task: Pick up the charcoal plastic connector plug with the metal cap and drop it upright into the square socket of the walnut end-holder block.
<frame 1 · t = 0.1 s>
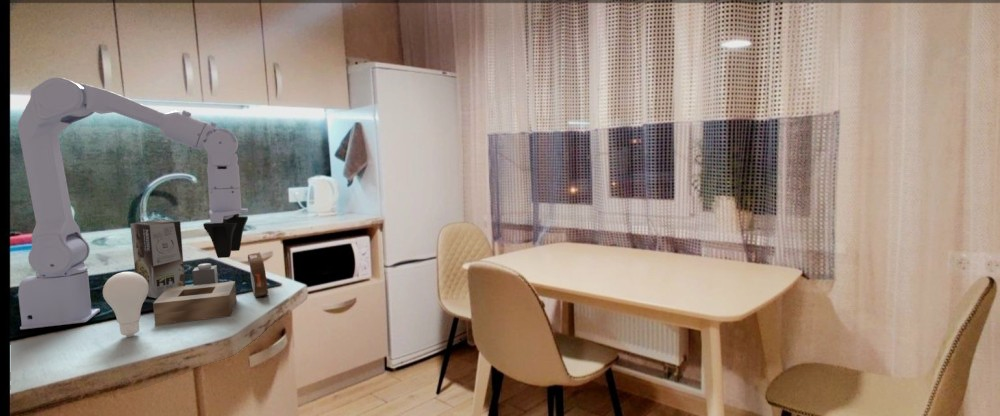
hand: (229, 253, 104), 10 cm above the countertop, tool pointing down, fingers open, 7 cm apart
coffee box: (161, 294, 112), on the countertop
lightbulb: (130, 337, 85), on the countertop
holder: (198, 311, 98), on the countertop
plug: (207, 297, 108), on the countertop
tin: (258, 293, 112), on the countertop
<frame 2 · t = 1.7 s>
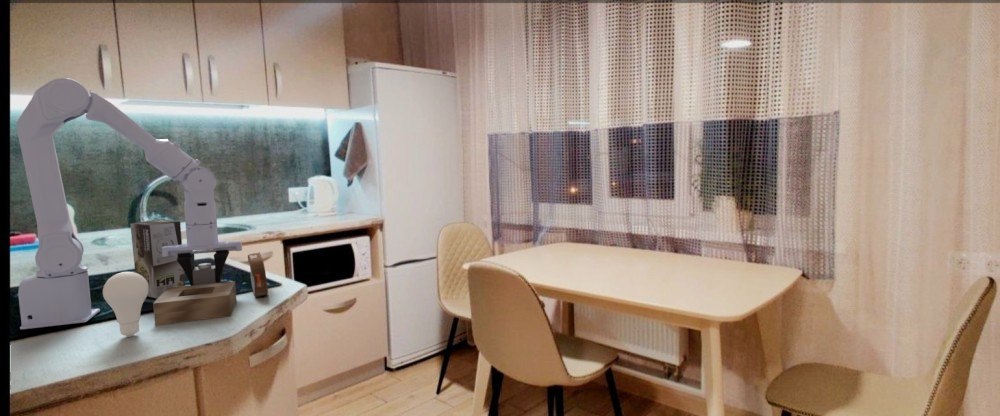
hand: (206, 286, 108), 2 cm above the countertop, tool pointing down, fingers closed on plug, 4 cm apart
plug: (207, 297, 108), on the countertop, touching gripper
everything else where it was.
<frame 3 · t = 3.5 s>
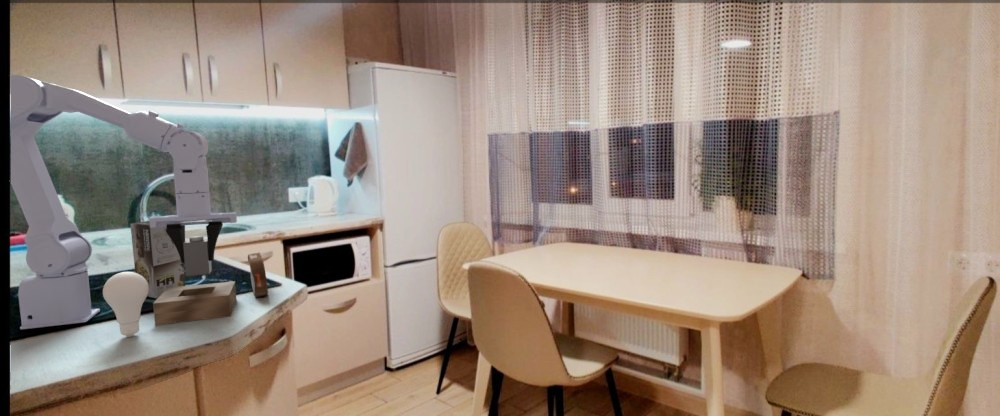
hand: (197, 261, 100), 9 cm above the countertop, tool pointing down, fingers closed on plug, 4 cm apart
plug: (199, 273, 100), point 7 cm above the countertop, touching gripper
everything else where it was.
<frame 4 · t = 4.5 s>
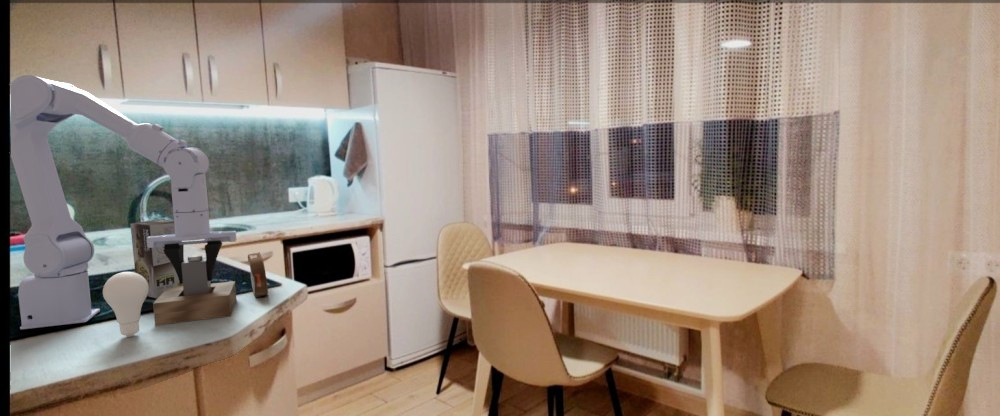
hand: (196, 281, 97), 6 cm above the countertop, tool pointing down, fingers closed on plug, 4 cm apart
plug: (197, 293, 98), point 4 cm above the countertop, touching gripper
everything else where it was.
when the fingers open (5 cm above the countertop, at t = 5.1 s): plug stays where it is, resting on holder.
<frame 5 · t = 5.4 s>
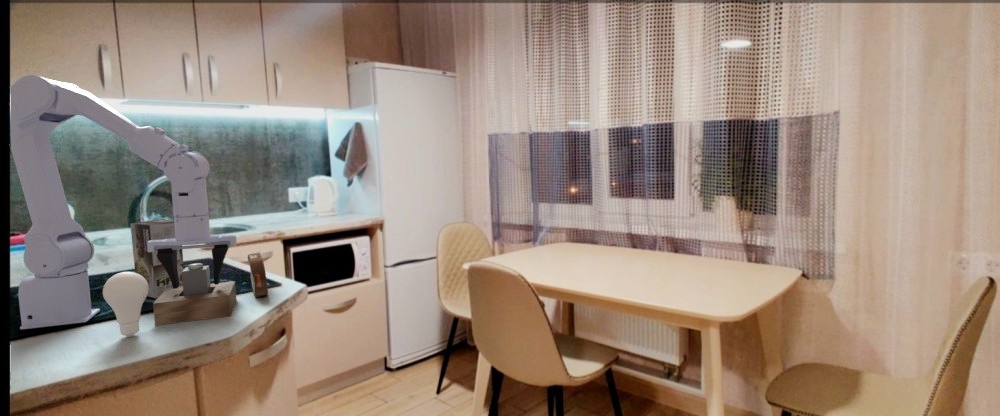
hand: (196, 285, 97), 5 cm above the countertop, tool pointing down, fingers open, 6 cm apart
plug: (198, 301, 98), point 2 cm above the countertop, touching holder
everything else where it was.
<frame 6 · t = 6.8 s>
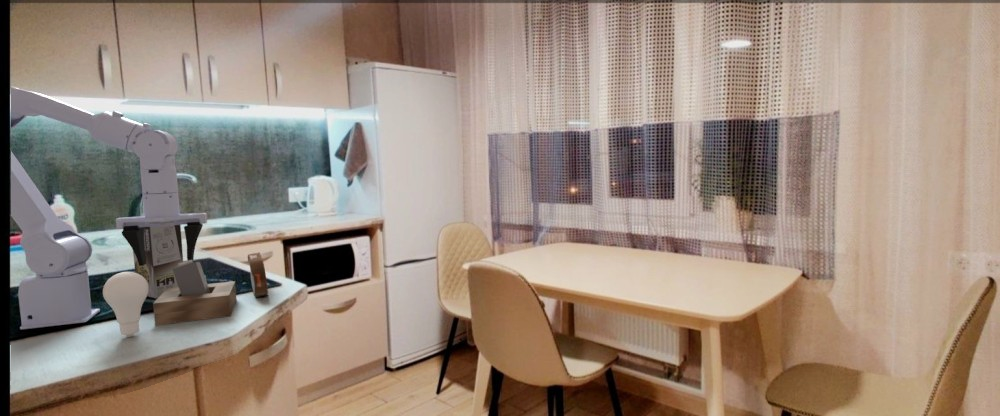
hand: (166, 262, 98), 10 cm above the countertop, tool pointing down, fingers open, 7 cm apart
plug: (197, 297, 98), point 3 cm above the countertop, tilted 18°, touching gripper, holder
everything else where it was.
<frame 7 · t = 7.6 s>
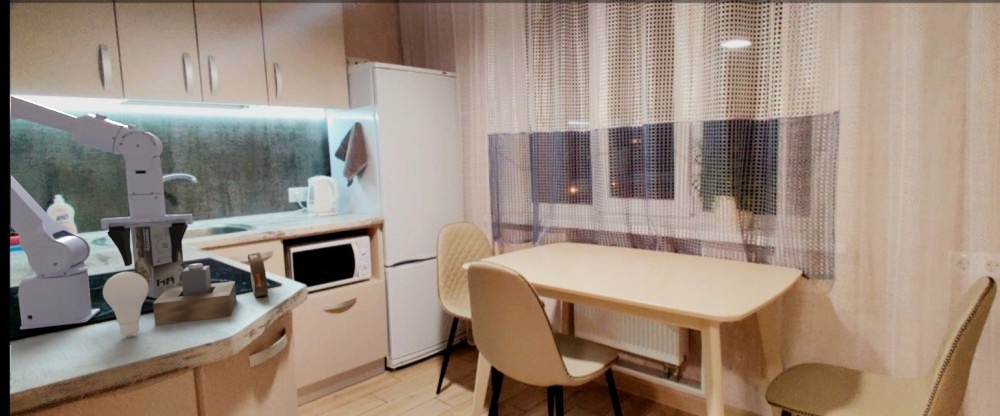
hand: (152, 263, 99), 9 cm above the countertop, tool pointing down, fingers open, 7 cm apart
plug: (198, 301, 98), point 2 cm above the countertop, touching holder
everything else where it was.
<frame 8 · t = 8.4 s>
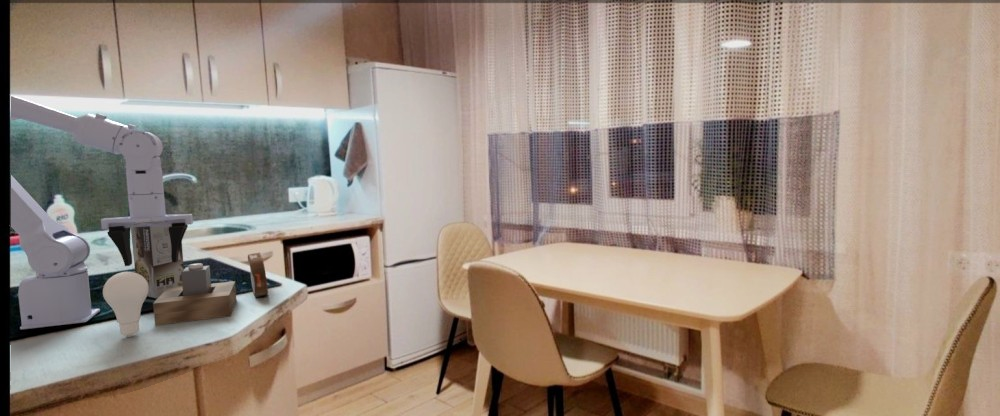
hand: (152, 263, 99), 9 cm above the countertop, tool pointing down, fingers open, 7 cm apart
nothing on the countertop moved.
at the end: plug 0.2 cm off-centre on the holder, point 2.0 cm above the holder's base; plug tilted 0°; the gripper is holding nothing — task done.
